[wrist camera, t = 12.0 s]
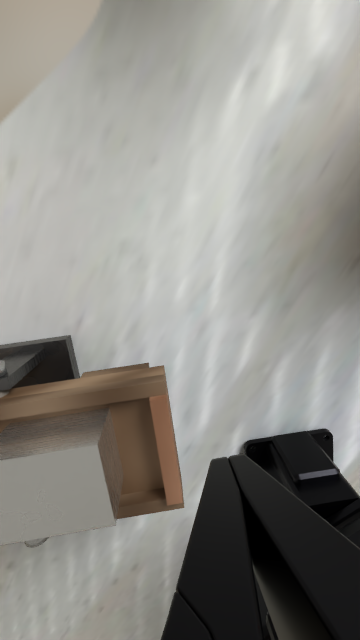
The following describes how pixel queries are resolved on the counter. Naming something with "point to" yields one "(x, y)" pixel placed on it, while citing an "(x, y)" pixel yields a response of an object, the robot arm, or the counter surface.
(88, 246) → the counter surface
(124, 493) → the beam
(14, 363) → the pivot stand
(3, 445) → the steel block
